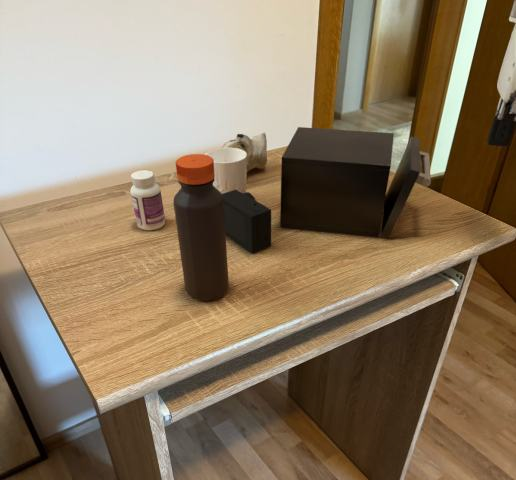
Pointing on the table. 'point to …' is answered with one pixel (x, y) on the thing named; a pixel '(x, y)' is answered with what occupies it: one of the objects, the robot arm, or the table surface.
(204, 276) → the vinegar
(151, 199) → the pill bottle
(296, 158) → the oven
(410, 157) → the oven door
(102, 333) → the table surface
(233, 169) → the white cup
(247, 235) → the digital camera
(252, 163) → the ceramic sculpture
